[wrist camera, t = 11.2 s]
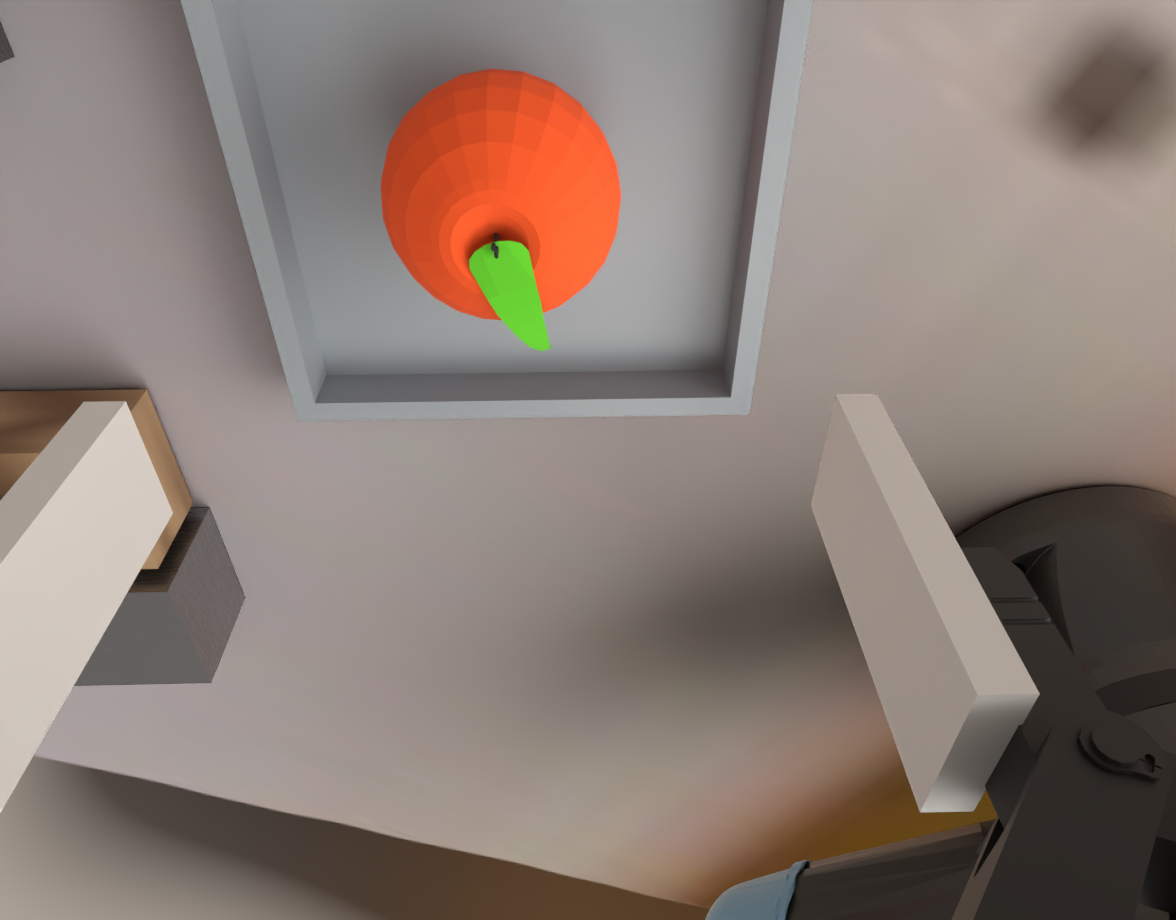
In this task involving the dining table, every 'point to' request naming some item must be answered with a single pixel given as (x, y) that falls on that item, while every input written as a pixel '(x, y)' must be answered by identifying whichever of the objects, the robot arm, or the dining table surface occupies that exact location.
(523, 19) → the tray
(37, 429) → the slider
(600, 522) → the dining table surface
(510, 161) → the clementine
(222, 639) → the frame
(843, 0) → the dining table surface
